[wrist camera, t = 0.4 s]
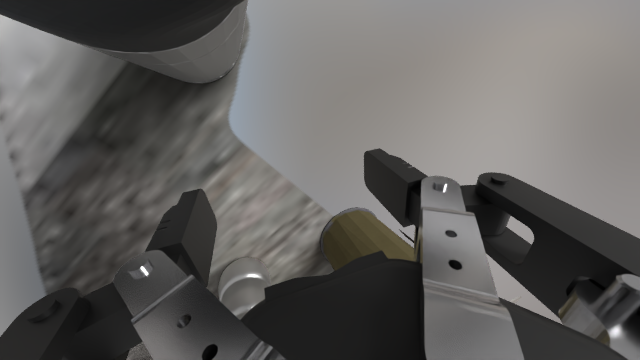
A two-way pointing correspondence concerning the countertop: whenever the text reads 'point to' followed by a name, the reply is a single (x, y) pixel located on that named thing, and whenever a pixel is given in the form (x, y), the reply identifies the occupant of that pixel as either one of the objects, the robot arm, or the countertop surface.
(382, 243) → the canister
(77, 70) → the countertop surface
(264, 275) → the plastic bottle
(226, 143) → the countertop surface
